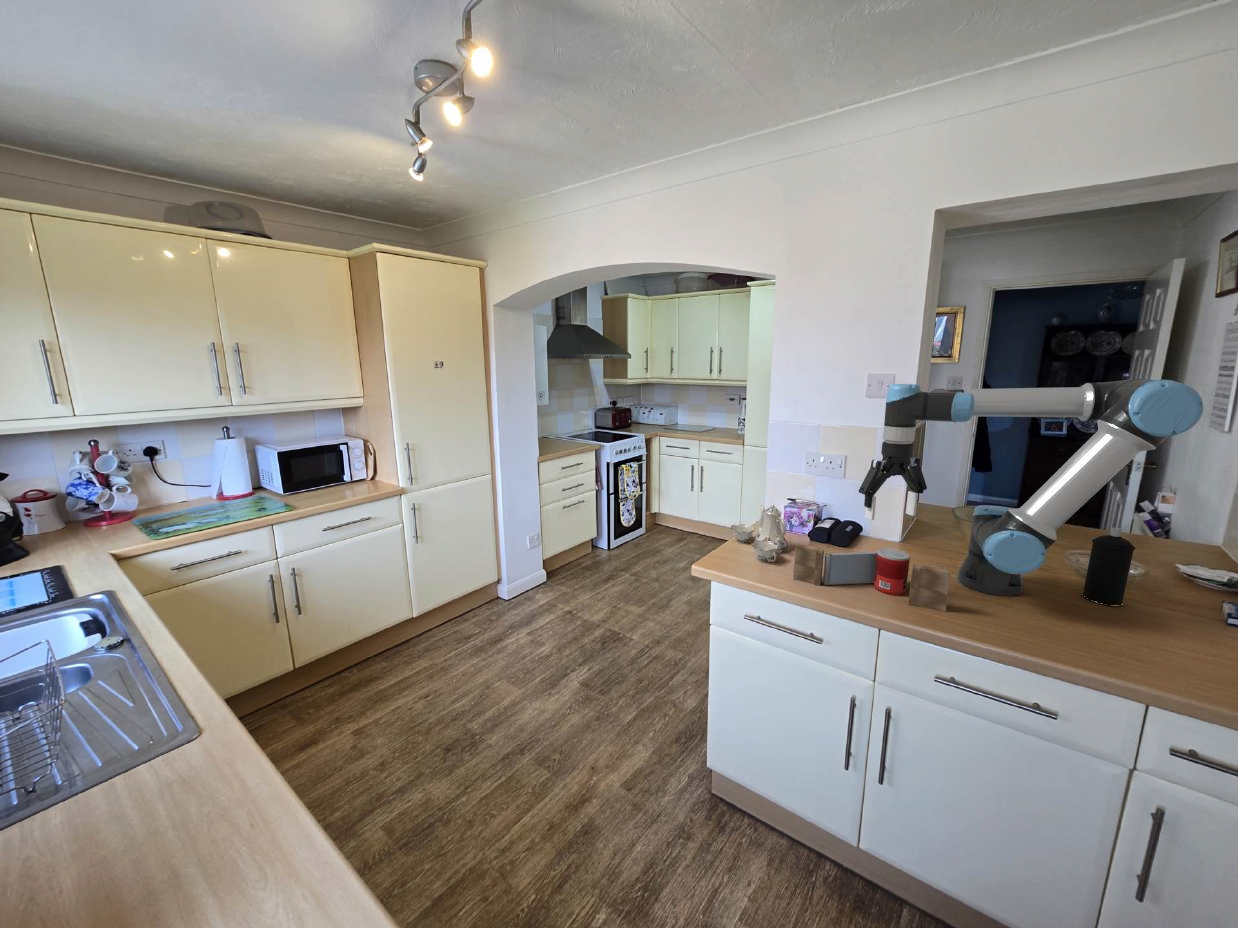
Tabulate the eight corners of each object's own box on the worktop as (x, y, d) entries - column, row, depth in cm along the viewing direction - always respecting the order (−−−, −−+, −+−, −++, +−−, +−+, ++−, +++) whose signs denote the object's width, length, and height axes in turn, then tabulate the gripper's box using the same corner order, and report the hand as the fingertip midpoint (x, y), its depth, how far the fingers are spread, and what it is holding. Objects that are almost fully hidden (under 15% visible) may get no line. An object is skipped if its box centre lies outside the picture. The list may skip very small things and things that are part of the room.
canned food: (910, 596, 136) (914, 559, 134) (879, 594, 137) (882, 557, 135) (899, 584, 143) (903, 548, 141) (870, 582, 145) (873, 547, 142)
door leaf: (891, 579, 146) (894, 550, 144) (895, 582, 144) (898, 553, 142) (821, 582, 144) (824, 553, 142) (824, 585, 142) (827, 555, 141)
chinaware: (722, 542, 183) (719, 499, 179) (763, 533, 186) (761, 491, 183) (763, 572, 156) (761, 523, 152) (809, 561, 160) (808, 513, 156)
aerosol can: (1109, 608, 128) (1124, 535, 124) (1073, 594, 136) (1086, 525, 132) (1131, 604, 131) (1147, 532, 127) (1094, 590, 138) (1108, 522, 134)
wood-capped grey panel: (945, 607, 130) (950, 570, 128) (945, 612, 127) (950, 574, 125) (795, 576, 149) (797, 543, 147) (792, 580, 147) (795, 546, 145)
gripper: (924, 437, 141) (916, 509, 145) (848, 441, 135) (842, 516, 140) (947, 441, 134) (938, 516, 138) (868, 446, 128) (861, 524, 132)
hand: (890, 516), depth 139 cm, fingers open, 13 cm apart
